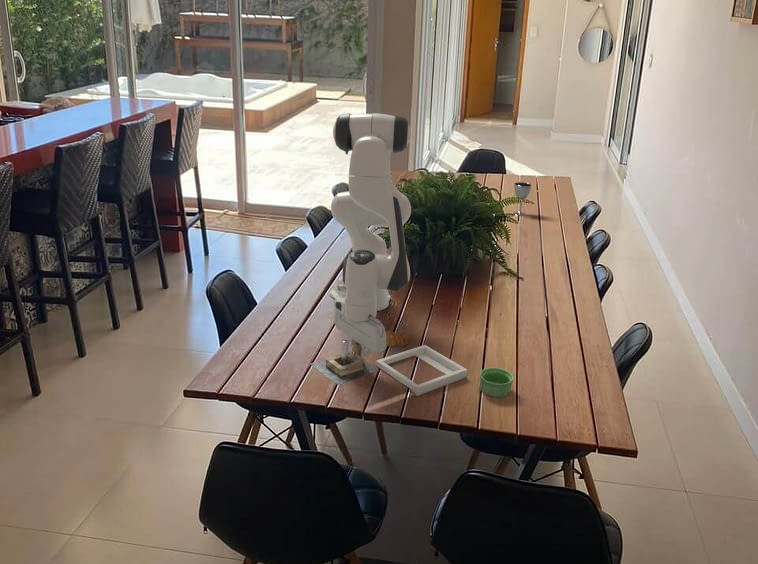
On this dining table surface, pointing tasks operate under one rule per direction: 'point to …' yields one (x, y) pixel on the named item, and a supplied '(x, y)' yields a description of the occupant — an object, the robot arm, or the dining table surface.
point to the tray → (431, 357)
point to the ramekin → (496, 382)
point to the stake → (344, 361)
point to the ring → (353, 361)
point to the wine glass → (521, 194)
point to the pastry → (395, 339)
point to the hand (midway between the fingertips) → (359, 354)
